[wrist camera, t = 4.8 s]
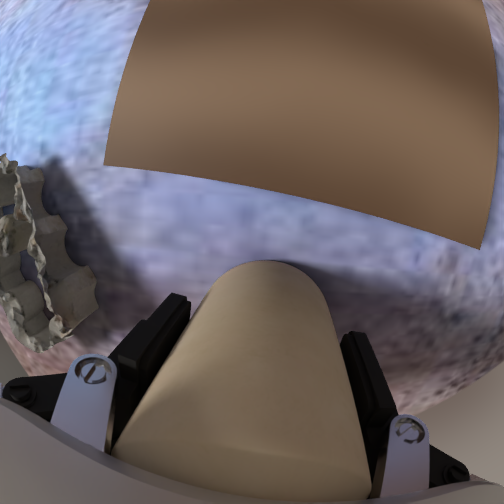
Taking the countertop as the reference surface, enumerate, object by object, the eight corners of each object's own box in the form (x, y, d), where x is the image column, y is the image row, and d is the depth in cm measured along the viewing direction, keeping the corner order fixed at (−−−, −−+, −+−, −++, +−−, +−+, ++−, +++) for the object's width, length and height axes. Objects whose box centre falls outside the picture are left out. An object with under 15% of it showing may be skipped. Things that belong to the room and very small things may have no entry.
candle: (256, 230, 11) (135, 492, 1) (352, 311, 11) (429, 533, 2) (182, 319, 12) (66, 504, 3) (271, 382, 13) (249, 571, 3)
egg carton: (118, 303, 13) (75, 342, 9) (58, 338, 15) (24, 368, 11) (41, 143, 11) (-11, 144, 7) (-4, 211, 13) (-44, 222, 9)
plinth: (218, -37, 8) (199, -82, 4) (442, 15, 7) (476, -17, 3) (158, 166, 11) (103, 165, 7) (426, 227, 10) (479, 249, 6)
